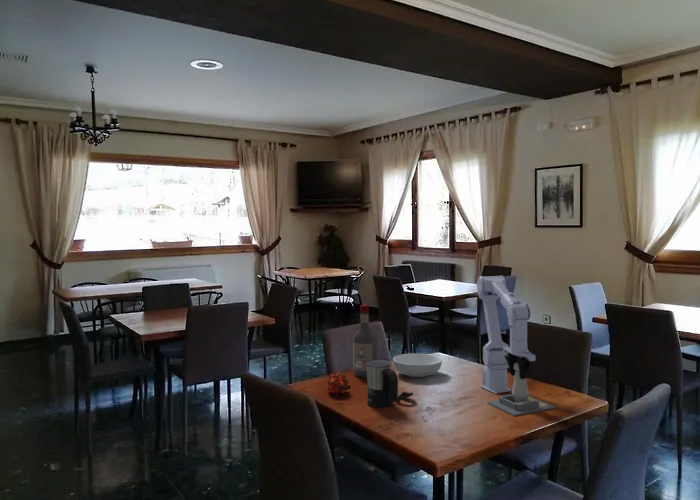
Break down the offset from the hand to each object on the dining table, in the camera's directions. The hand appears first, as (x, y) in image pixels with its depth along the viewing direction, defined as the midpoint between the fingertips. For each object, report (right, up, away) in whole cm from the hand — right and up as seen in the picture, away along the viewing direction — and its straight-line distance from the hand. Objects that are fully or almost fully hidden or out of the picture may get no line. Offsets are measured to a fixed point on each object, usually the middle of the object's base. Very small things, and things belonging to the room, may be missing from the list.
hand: (518, 376), depth 183 cm
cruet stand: (+1, -10, +1) cm, 10 cm away
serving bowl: (-30, -9, +42) cm, 53 cm away
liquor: (-52, -10, +44) cm, 69 cm away
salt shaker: (+1, -8, +1) cm, 8 cm away
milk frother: (-44, -11, +7) cm, 46 cm away
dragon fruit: (-64, -11, +19) cm, 67 cm away
